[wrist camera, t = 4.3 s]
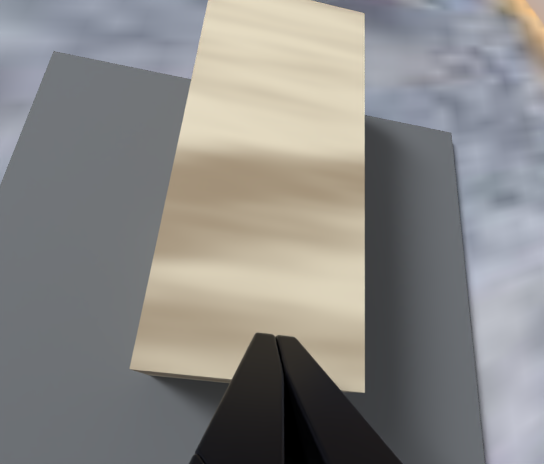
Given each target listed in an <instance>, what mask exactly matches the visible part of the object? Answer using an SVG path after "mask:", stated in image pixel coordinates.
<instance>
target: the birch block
mask: <svg viewBox="0 0 544 464" xmlns="http://www.w3.org/2000/svg"><path fill="white" fill-rule="evenodd" d="M257 332H260V333H268V334H273V335H274V336H275V337H276V336H277V335H285V336H293V337H295V338H297V339H298V341H299V342H300V343H301V344H302V345H303V346H304V348H305V349H306V350H307V351H308V352H309V353H310V355H311V356H312V357H313V358H314V359H315V361H316V362H317V363H318V364H319V365H320V366H321V368H322V369H323V370H324V371H325V372H326V373H327V375H328V376H329V377H330V378H331V379H332V380H333V382H334V383H335V384H336V385H337V386H338V387H339V389H340V390H341V391H342V392H356V393H365V25H364V13H361V12H357V11H353V10H349V9H345V8H340V7H336V6H332V5H328V4H324V3H320V2H316V1H312V0H208V4H207V9H206V13H205V18H204V23H203V27H202V32H201V37H200V41H199V46H198V51H197V55H196V60H195V65H194V69H193V74H192V79H191V83H190V88H189V93H188V97H187V102H186V107H185V111H184V116H183V121H182V126H181V130H180V135H179V140H178V144H177V149H176V154H175V158H174V163H173V168H172V172H171V177H170V182H169V186H168V191H167V196H166V200H165V205H164V210H163V214H162V219H161V224H160V228H159V233H158V238H157V242H156V247H155V252H154V256H153V261H152V266H151V271H150V275H149V280H148V285H147V289H146V294H145V299H144V303H143V308H142V313H141V317H140V322H139V327H138V331H137V336H136V341H135V345H134V350H133V355H132V359H131V364H130V369H131V370H134V371H137V372H140V373H143V374H147V375H151V376H162V377H172V378H182V379H192V380H202V381H212V382H222V383H230V382H231V380H232V378H233V376H234V374H235V372H236V370H237V368H238V366H239V364H240V362H241V360H242V358H243V356H244V354H245V352H246V350H247V348H248V346H249V344H250V342H251V340H252V338H253V336H254V334H255V333H257Z"/></svg>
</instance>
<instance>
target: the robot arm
mask: <svg viewBox="0 0 544 464" xmlns="http://www.w3.org/2000/svg"><path fill="white" fill-rule="evenodd" d="M189 464H403V462H402V461H401V460H400V459H399V458H398V457H397V455H396V454H395V453H394V452H393V451H392V450H391V448H390V447H389V446H388V445H387V444H386V442H385V441H384V440H383V439H382V438H381V437H380V435H379V434H378V433H377V432H376V431H375V430H374V428H373V427H372V426H371V425H370V424H369V423H368V421H367V420H366V419H365V418H364V417H363V416H362V414H361V413H360V412H359V411H358V410H357V409H356V407H355V406H354V405H353V404H352V403H351V402H350V400H349V399H348V398H347V397H346V396H345V394H344V393H343V392H342V391H341V390H340V389H339V387H338V386H337V385H336V384H335V383H334V382H333V380H332V379H331V378H330V377H329V376H328V375H327V373H326V372H325V371H324V370H323V369H322V368H321V366H320V365H319V364H318V363H317V362H316V361H315V359H314V358H313V357H312V356H311V355H310V353H309V352H308V351H307V350H306V349H305V348H304V346H303V345H302V344H301V343H300V342H299V341H298V339H297V338H295V337H293V336H285V335H277V336H276V337H275V336H274V335H273V334H268V333H260V332H257V333H255V334H254V336H253V338H252V340H251V342H250V344H249V346H248V348H247V350H246V352H245V354H244V356H243V358H242V360H241V362H240V364H239V366H238V368H237V370H236V372H235V374H234V376H233V378H232V380H231V382H230V384H229V386H228V388H227V390H226V392H225V394H224V396H223V398H222V399H221V401H220V403H219V405H218V407H217V409H216V411H215V413H214V415H213V417H212V419H211V421H210V423H209V425H208V427H207V429H206V431H205V433H204V435H203V437H202V439H201V441H200V443H199V445H198V447H197V449H196V451H195V455H193V456H192V458H191V460H190V462H189Z"/></svg>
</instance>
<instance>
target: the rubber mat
mask: <svg viewBox="0 0 544 464" xmlns="http://www.w3.org/2000/svg"><path fill="white" fill-rule="evenodd" d="M190 83H191V79H186V78H182V77H177V76H172V75H167V74H162V73H157V72H152V71H148V70H143V69H138V68H133V67H128V66H123V65H118V64H113V63H109V62H104V61H99V60H94V59H89V58H84V57H79V56H74V55H70V54H65V53H60V52H55V51H54V52H53V54H52V57H51V59H50V62H49V64H48V67H47V69H46V72H45V74H44V77H43V79H42V82H41V84H40V87H39V89H38V92H37V94H36V97H35V99H34V102H33V104H32V107H31V109H30V112H29V114H28V117H27V119H26V122H25V124H24V127H23V129H22V132H21V134H20V137H19V140H18V142H17V145H16V147H15V150H14V152H13V155H12V157H11V160H10V162H9V165H8V167H7V170H6V172H5V175H4V177H3V180H2V182H1V185H0V464H189V462H190V460H191V458H192V456H193V455H195V451H196V449H197V447H198V445H199V443H200V441H201V439H202V437H203V435H204V433H205V431H206V429H207V427H208V425H209V423H210V421H211V419H212V417H213V415H214V413H215V411H216V409H217V407H218V405H219V403H220V401H221V399H222V398H223V396H224V394H225V392H226V390H227V388H228V386H229V384H230V383H222V382H212V381H202V380H192V379H182V378H172V377H162V376H151V375H147V374H143V373H140V372H137V371H134V370H131V369H130V364H131V359H132V355H133V350H134V345H135V341H136V336H137V331H138V327H139V322H140V317H141V313H142V308H143V303H144V299H145V294H146V289H147V285H148V280H149V275H150V271H151V266H152V261H153V256H154V252H155V247H156V242H157V238H158V233H159V228H160V224H161V219H162V214H163V210H164V205H165V200H166V196H167V191H168V186H169V182H170V177H171V172H172V168H173V163H174V158H175V154H176V149H177V144H178V140H179V135H180V130H181V126H182V121H183V116H184V111H185V107H186V102H187V97H188V93H189V88H190ZM343 393H344V394H345V396H346V397H347V398H348V399H349V400H350V402H351V403H352V404H353V405H354V406H355V407H356V409H357V410H358V411H359V412H360V413H361V414H362V416H363V417H364V418H365V419H366V420H367V421H368V423H369V424H370V425H371V426H372V427H373V428H374V430H375V431H376V432H377V433H378V434H379V435H380V437H381V438H382V439H383V440H384V441H385V442H386V444H387V445H388V446H389V447H390V448H391V450H392V451H393V452H394V453H395V454H396V455H397V457H398V458H399V459H400V460H401V461H402V462H403V464H485V459H484V450H483V440H482V430H481V420H480V410H479V400H478V391H477V381H476V371H475V361H474V351H473V341H472V331H471V322H470V312H469V302H468V292H467V282H466V272H465V263H464V253H463V243H462V233H461V223H460V213H459V204H458V194H457V184H456V174H455V164H454V154H453V145H452V135H451V133H449V132H445V131H440V130H435V129H430V128H425V127H420V126H415V125H411V124H406V123H401V122H396V121H391V120H386V119H381V118H376V117H372V116H367V115H365V393H356V392H343Z"/></svg>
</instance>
